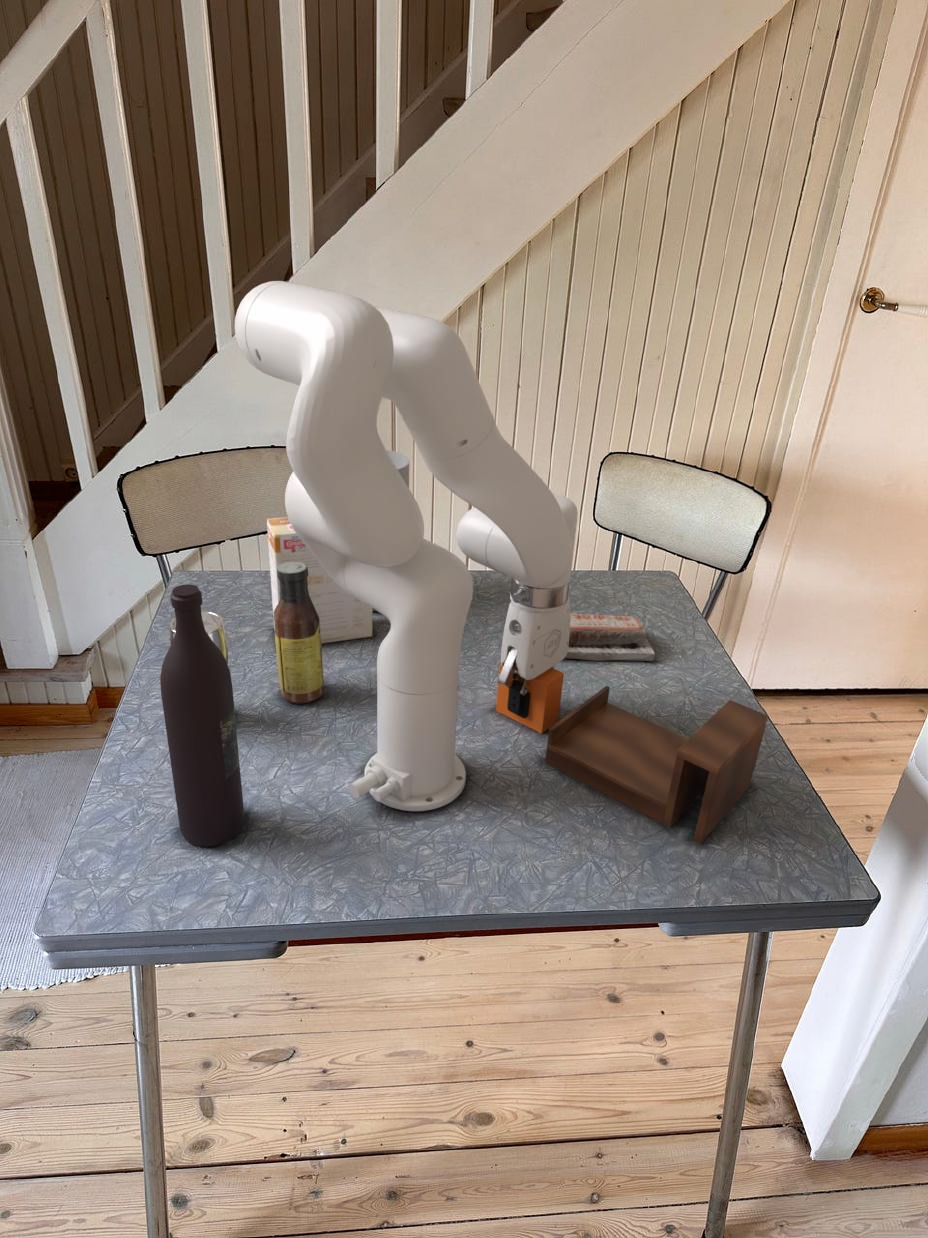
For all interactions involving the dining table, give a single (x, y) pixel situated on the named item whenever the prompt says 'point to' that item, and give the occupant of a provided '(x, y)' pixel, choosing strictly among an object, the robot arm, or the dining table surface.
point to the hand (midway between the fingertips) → (527, 705)
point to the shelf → (659, 759)
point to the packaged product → (608, 638)
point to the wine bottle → (201, 728)
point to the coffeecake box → (317, 587)
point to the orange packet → (536, 700)
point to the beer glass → (209, 630)
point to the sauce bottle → (297, 636)
